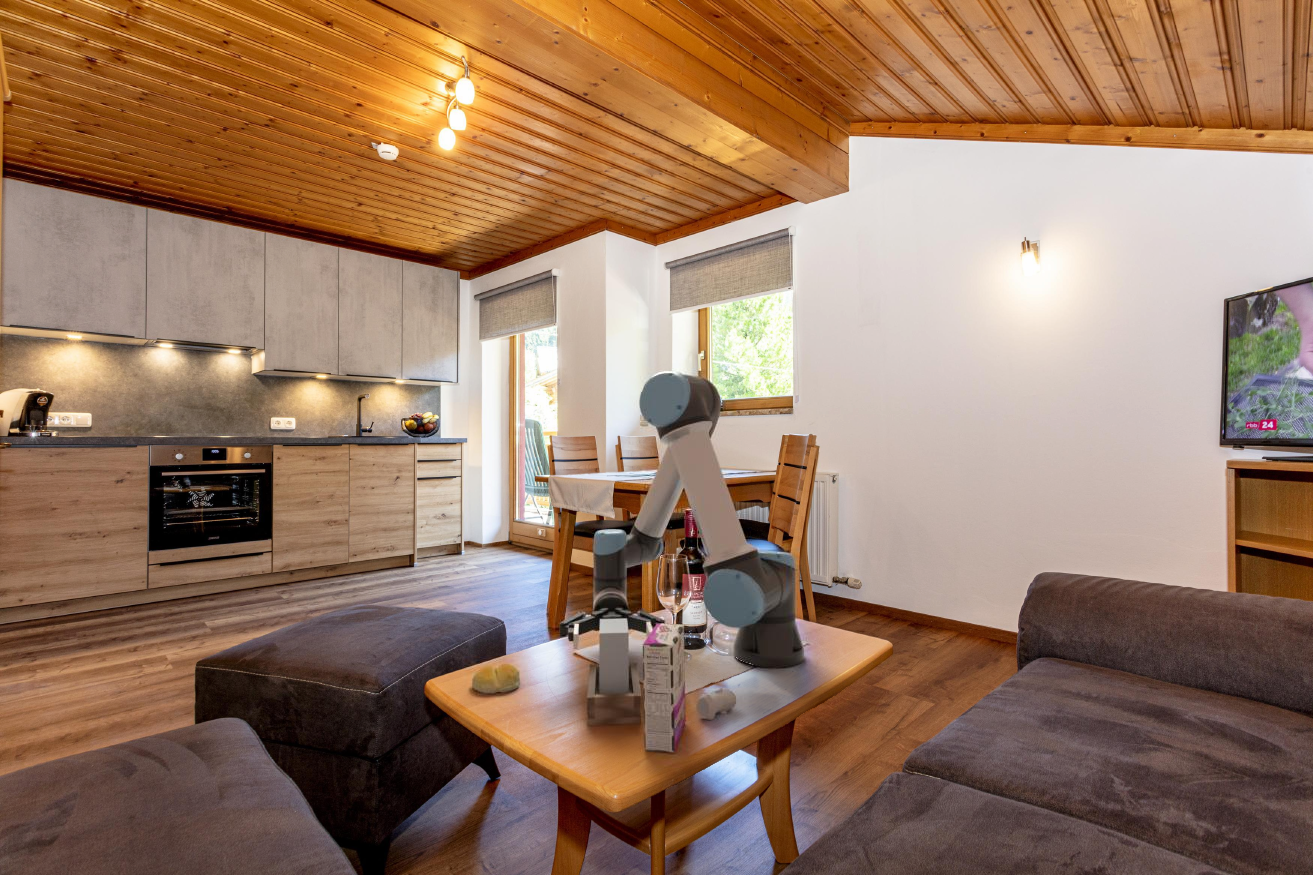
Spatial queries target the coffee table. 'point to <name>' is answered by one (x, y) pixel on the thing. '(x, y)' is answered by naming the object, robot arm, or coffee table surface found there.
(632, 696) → the open brown box
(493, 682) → the bread roll
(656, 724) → the candy bar box
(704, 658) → the coffee table surface
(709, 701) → the pale two-lobed sculpture
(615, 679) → the grey box
